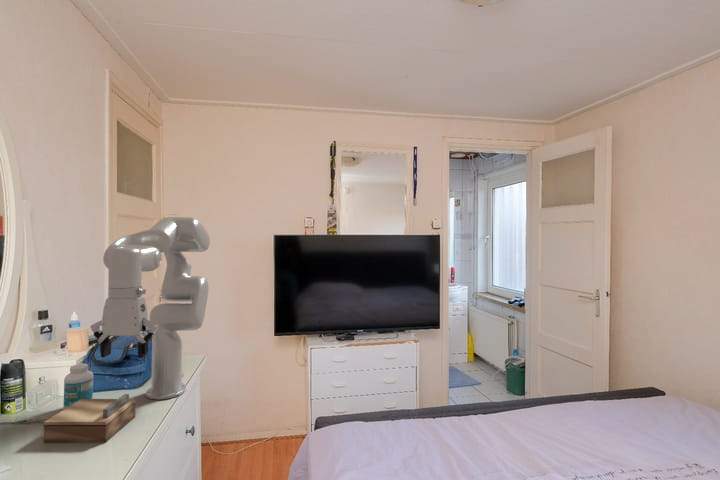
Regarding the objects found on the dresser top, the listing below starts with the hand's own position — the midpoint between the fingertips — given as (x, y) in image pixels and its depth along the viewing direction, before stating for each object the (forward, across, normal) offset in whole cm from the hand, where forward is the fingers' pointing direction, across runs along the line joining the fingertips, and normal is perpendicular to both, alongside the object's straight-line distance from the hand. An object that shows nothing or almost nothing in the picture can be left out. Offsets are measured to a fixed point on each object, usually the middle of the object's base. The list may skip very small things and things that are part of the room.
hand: (124, 356), depth 99 cm
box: (+23, +12, -6) cm, 27 cm away
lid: (+18, +12, -6) cm, 23 cm away
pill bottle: (+24, +25, -19) cm, 39 cm away
